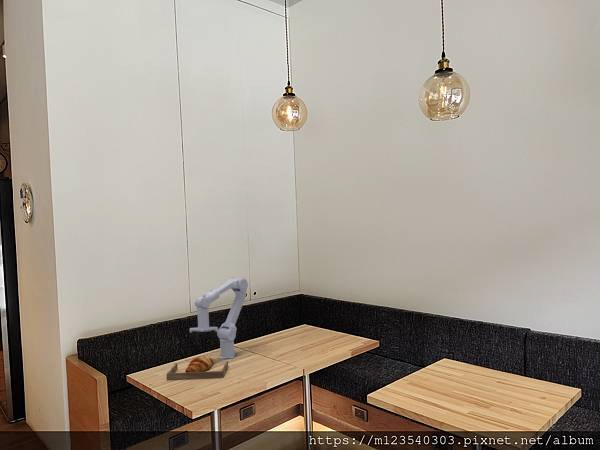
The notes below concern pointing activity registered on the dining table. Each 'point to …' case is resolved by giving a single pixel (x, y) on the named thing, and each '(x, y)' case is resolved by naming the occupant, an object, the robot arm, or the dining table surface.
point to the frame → (195, 374)
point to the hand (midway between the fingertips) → (204, 345)
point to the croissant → (199, 364)
